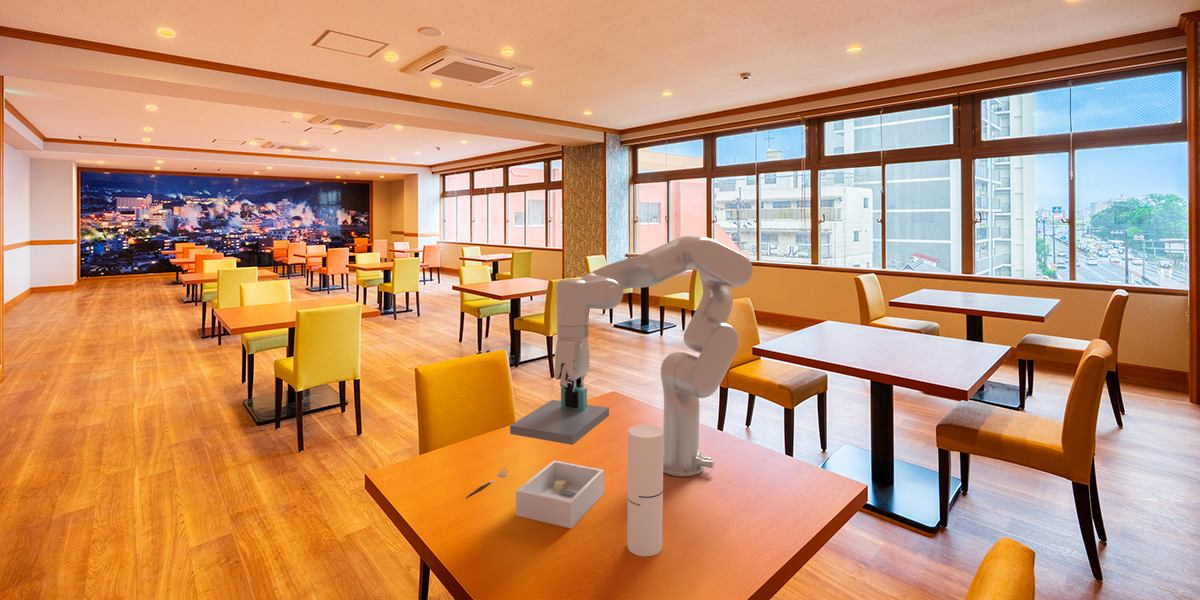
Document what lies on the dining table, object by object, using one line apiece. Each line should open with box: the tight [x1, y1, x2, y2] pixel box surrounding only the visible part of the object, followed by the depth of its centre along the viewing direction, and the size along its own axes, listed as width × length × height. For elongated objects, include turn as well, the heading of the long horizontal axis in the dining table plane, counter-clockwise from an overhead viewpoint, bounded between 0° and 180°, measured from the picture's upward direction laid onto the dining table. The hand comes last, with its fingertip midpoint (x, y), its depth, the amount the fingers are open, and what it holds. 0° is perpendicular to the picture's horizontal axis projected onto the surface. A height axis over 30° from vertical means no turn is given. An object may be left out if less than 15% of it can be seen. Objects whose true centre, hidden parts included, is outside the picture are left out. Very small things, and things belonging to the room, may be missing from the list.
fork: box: [465, 466, 510, 499], centre depth 148 cm, size 3×16×2 cm, turn 152°
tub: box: [515, 460, 605, 530], centre depth 138 cm, size 14×18×6 cm
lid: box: [509, 386, 610, 446], centre depth 135 cm, size 16×20×7 cm
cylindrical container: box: [626, 424, 664, 557], centre depth 118 cm, size 7×7×25 cm
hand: (574, 405), depth 141 cm, fingers closed on lid
